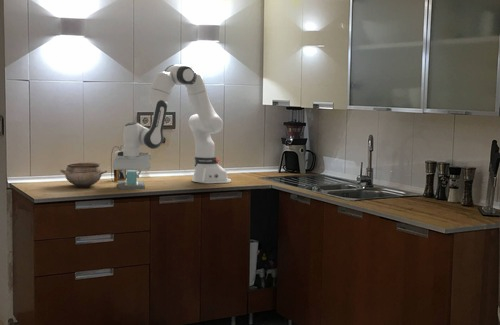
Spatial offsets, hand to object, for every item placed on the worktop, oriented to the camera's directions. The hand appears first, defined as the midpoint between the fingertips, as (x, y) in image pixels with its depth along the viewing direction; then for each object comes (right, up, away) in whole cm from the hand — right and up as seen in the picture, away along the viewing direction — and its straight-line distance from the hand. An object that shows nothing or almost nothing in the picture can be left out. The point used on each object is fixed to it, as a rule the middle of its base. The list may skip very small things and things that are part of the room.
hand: (131, 177), depth 368 cm
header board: (0, -5, 0) cm, 5 cm away
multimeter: (-7, -3, +17) cm, 19 cm away
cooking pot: (-25, -5, -6) cm, 26 cm away
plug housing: (0, -3, 0) cm, 3 cm away
